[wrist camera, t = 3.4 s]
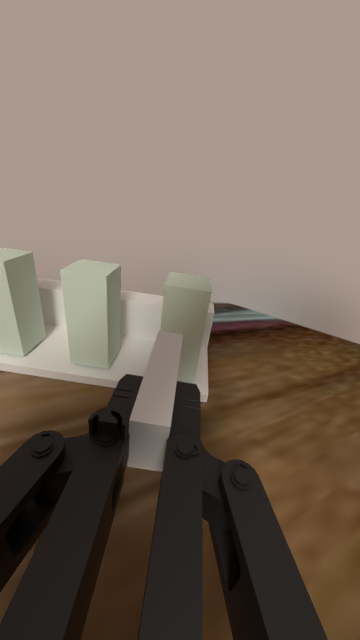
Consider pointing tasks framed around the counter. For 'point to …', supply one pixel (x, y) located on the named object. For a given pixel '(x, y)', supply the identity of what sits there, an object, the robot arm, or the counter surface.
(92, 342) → the middle button
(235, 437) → the counter surface
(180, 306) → the pale green tall block
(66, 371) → the button panel
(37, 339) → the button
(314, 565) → the counter surface
